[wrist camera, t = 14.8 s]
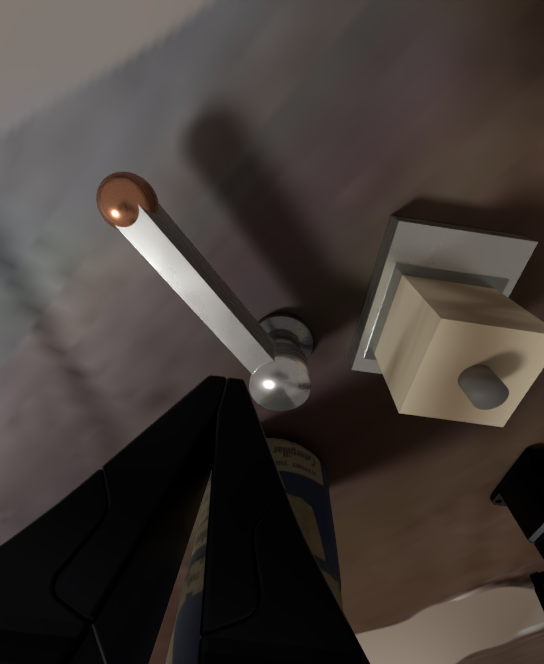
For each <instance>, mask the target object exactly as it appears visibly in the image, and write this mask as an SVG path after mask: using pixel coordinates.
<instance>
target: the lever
mask: <svg viewBox="0 0 544 664" xmlns="http://www.w3.org/2000/svg"><path fill="white" fill-rule="evenodd" d="M96 201H97V206H98V209H99V212H100V214H101V215H102V217H103V218H104V220H105V221H106V222H107V223H108V224H109V225H111V226H112V227H114V228H115V229H117V230H119V231H121V233H122V234H123V235H124V236H125V237H126V238H127V239H128V240H129V241H130V242H131V243H132V244H133V246H134V247H135V248H136V249H137V250H138V251H139V252H140V253H141V254H142V255H143V256H144V257H145V259H146V260H147V261H148V262H149V263H150V264H151V265H152V266H153V267H154V268H155V269H156V271H157V272H158V273H159V274H160V275H161V276H162V277H163V278H164V279H165V280H166V281H167V282H168V284H169V285H170V286H171V287H172V288H173V289H174V290H175V291H176V292H177V293H178V294H179V295H180V297H181V298H182V299H183V300H184V301H185V302H186V303H187V304H188V305H189V306H190V307H191V308H192V310H193V311H194V312H195V313H196V314H197V315H198V316H199V317H200V318H201V319H202V320H203V321H204V323H205V324H206V325H207V326H208V327H209V328H210V329H211V330H212V331H213V332H214V333H215V334H216V336H217V337H218V338H219V339H220V340H221V341H222V342H223V343H224V344H225V345H226V346H227V347H228V349H229V350H230V351H231V352H232V353H233V354H234V355H235V356H236V357H237V358H238V359H239V361H240V362H241V363H242V364H243V365H244V366H245V367H246V368H247V369H248V370H249V371H250V372H251V377H250V384H249V389H250V393H251V395H252V397H253V399H254V400H255V401H256V402H257V403H258V404H259V405H261V406H263V407H264V408H267V409H270V410H274V411H287V410H292V409H294V408H297V407H299V406H300V405H302V404H303V403H304V402H305V401H306V400H307V398H308V396H309V394H310V390H311V384H310V374H309V363H308V359H307V357H306V355H305V353H304V352H303V351H302V350H301V349H300V348H299V347H297V346H295V345H293V344H290V343H286V342H274V340H273V339H272V338H271V337H270V336H269V334H268V333H267V332H266V331H265V330H264V329H263V327H262V326H261V325H260V324H259V323H258V321H257V320H256V319H255V318H254V317H253V315H252V314H251V313H250V312H249V311H248V309H247V308H246V307H245V306H244V305H243V303H242V302H241V301H240V300H239V299H238V297H237V296H236V295H235V294H234V293H233V291H232V290H231V289H230V288H229V287H228V285H227V284H226V283H225V282H224V281H223V279H222V278H221V277H220V276H219V275H218V274H217V272H216V271H215V270H214V269H213V268H212V266H211V265H210V264H209V263H208V262H207V260H206V259H205V258H204V257H203V256H202V254H201V253H200V252H199V251H198V250H197V248H196V247H195V246H194V245H193V244H192V242H191V241H190V240H189V239H188V238H187V236H186V235H185V234H184V233H183V232H182V230H181V229H180V228H179V227H178V226H177V224H176V223H175V222H174V221H173V220H172V219H171V217H170V216H169V215H168V214H167V213H166V211H165V210H164V209H163V208H162V207H161V205H160V204H159V203H158V198H157V195H156V193H155V191H154V189H153V188H152V187H151V185H150V184H149V183H148V182H147V181H146V180H145V179H143V178H142V177H140V176H138V175H136V174H133V173H130V172H116V173H113V174H110V175H109V176H107V177H106V178H105V179H104V180H103V181H102V182H101V183H100V185H99V187H98V190H97V195H96Z"/></svg>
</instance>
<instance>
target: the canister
mask: <svg viewBox="0 0 544 664" xmlns="http://www.w3.org/2000/svg"><path fill="white" fill-rule="evenodd" d="M266 439H267V442H268V444H269V447H270V449H271V452H272V455H273V457H274V460H275V463H276V465H277V468H278V471H279V473H280V476H281V478H282V481H283V484H284V486H285V489H286V493H287V494H288V496H289V499H290V502H291V504H292V507H293V510H294V512H295V514H296V517H297V519H298V522H299V524H300V526H301V529H302V531H303V534H304V536H305V538H306V540H307V542H308V544H309V546H310V548H311V551H312V553H313V555H314V557H315V559H316V561H317V563H318V565H319V567H320V569H321V571H322V573H323V575H324V577H325V579H326V580H327V582H328V584H329V586H330V588H331V590H332V592H333V594H334V596H335V598H336V600H337V602H338V603H339V605H340V607H341V609H342V611H343V606H342V597H341V579H340V571H339V562H338V554H337V546H336V538H335V531H334V524H333V517H332V511H331V504H330V496H329V482H328V477H327V473H326V471H325V468H324V467H323V465H322V463H321V462H320V461H319V459H318V458H317V457H316V456H315V455H314V454H313V453H311V452H310V451H308V450H307V449H306V448H304V447H302V446H300V445H298V444H296V443H294V442H291V441H288V440H285V439H277V438H266ZM211 476H212V473H211ZM210 489H211V477H210V480H209V484H208V488H207V493H206V497H205V501H204V506H203V510H202V514H201V518H200V523H199V527H198V531H197V535H196V539H195V544H194V548H193V552H192V557H191V561H190V566H189V571H188V574H187V576H186V578H185V582H184V586H183V590H182V595H181V599H180V603H179V608H178V612H177V617H176V621H175V625H174V630H173V634H172V638H171V642H170V646H169V651H168V655H167V659H166V663H165V664H197V663H198V650H199V637H200V623H201V610H202V596H203V583H204V569H205V556H206V543H207V529H208V516H209V503H210Z"/></svg>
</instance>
